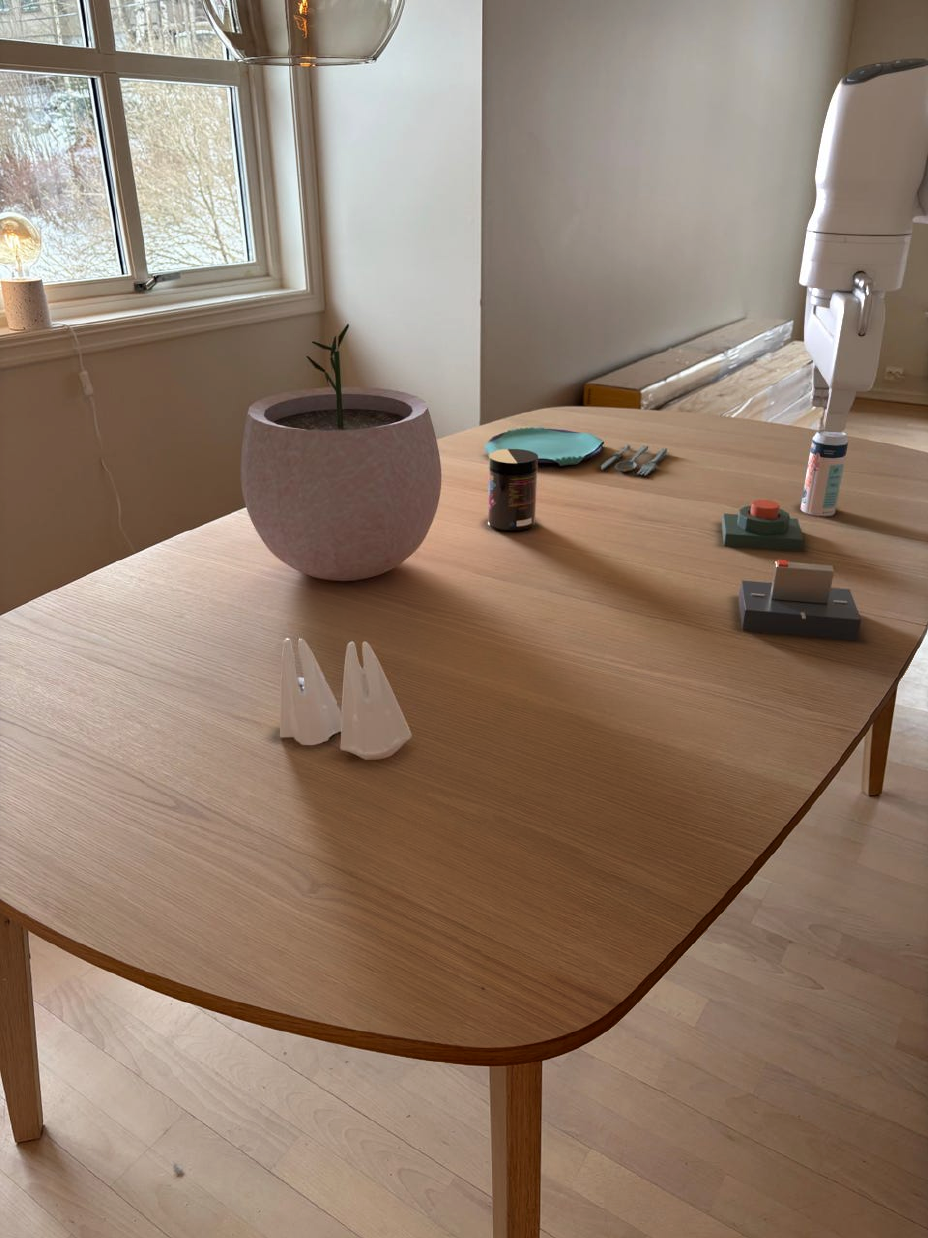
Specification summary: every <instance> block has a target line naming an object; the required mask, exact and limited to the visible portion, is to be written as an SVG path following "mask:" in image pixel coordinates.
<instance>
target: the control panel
mask: <svg viewBox="0 0 928 1238" xmlns="http://www.w3.org/2000/svg"><path fill="white" fill-rule="evenodd" d="M771 587H772V582H767V581H766V582H765V581H752V580H741V581H740V586H739V594H738V607H739V616H740V624H741V630H742V631H745V632H755V633H769V634H780V635H789V636H791V635H792V636H800V637H801V636H802V637H812V638H813V637H814V638H823V639H834V640H845V641H855V642H857V641H858V637H859V634H860V633H859V632H860V627H861V623H862V618H861V616H860V613H859V610H858V608H857V604H856V602H855V600H854V596H853V594H852V591H851V590H850V589H849V588H837V587H831V590H830V595H829V600H828V604H824V603H812V602H800V601H788V600H777V599H772V598H771Z"/></svg>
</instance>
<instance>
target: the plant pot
mask: <svg viewBox="0 0 928 1238" xmlns="http://www.w3.org/2000/svg"><path fill="white" fill-rule="evenodd" d="M349 328H350V325H349V323H347V324H346V325H345V327H344V328H343V329H342V331H341V332H340V334H339V335H338V337H337V335H335V336H334V338H333V341H332V344H331V346H327V345H325V344H322V343H320V342H317V341H314V340H313V341H311V343H312V344H313V345H315V346H317V347H319V348H321V349H323V350H326V351H330V355H329V356H330V357H329V360H330V364H331V369H332V370H333V372H334V382H333V380H332V378H331V376H330V375H329V374H328V372H326V369H324V367H322V366H321V365H319V364H318V363H317V362H316V361H315V360H313V359H312V358H311V357H310V356H309V355H305V356H306V358H307V360H308V361H309V362H310V364H312V366H313V367H314V369H316V370H318V371H320V372H322V373H324V376H325V379H326V383H327V386H325V387H324V386H323V387H315V388H313V387H312V388H303V389H297V390H291V391H284V392H280V393H276V394H273V395H269V396H266V397H264V398H261V399H259V400H256V401H255V402H254V403H252V404H251V405H250V406H249V407H248V410H247V415H246V420H245V426H244V431H243V436H242V437H243V438H242V447H241V457H240V458H241V459H240V485H241V491H242V492H241V493H242V496H243V501H244V505H245V508H246V512H247V514H248V516H249V519H250V521H251V523H252V525H253V527H254V529H255V531H256V532H257V534H258V536H259V537H260V539H261V541H262V542H263V544H264V545H265V547H266V548H267V549H268V551H270V553H271V554H273V556H274V557H276V558H277V559H278V560H279V561H281V562H282V563H284V564H285V565H287V566H288V567H290V568H291V569H293V570H295V571H297V572H299V573H301V574H304V575H307V576H310V577H313V578H316V579H319V580H324V581H325V580H326V581H336V582H350V581H351V582H352V581H353V582H354V581H359V580H365V579H369V578H373V577H376V576H380V575H383V574H384V573H387V572H388V571H391V570H392V569H395V568H397V567H398V566H399V565H401V564H402V563H403V562H405V561H407V559H408V558H410V557H411V556H412V555H413V554H414V553H416V551H417V550H418V549H419V548H420V547H421V545H422V544H423V542H424V541H425V539H426V537H427V535H428V533H429V531H430V528H431V526H432V524H433V522H434V519H435V517H436V514H437V510H438V507H439V502H440V497H441V491H442V466H441V465H442V464H441V457H440V451H439V445H438V440H437V436H436V432H435V428H434V424H433V421H432V417H431V414H430V409H429V407H428V405H427V402H426V401H425V400H424V399H422V398H421V397H419V396H418V395H414V394H410V393H408V392H404V391H399V390H394V389H388V388H381V387H380V388H378V387H369V386H368V387H367V386H342V377H341V375H342V374H341V361H340V360H341V359H340V358H341V357H340V350H339V348H340V345H341V344H342V342H343V340H344V338H345V335H346V334H347V331H348V329H349ZM329 383H330V385H329Z"/></svg>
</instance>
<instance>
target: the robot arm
mask: <svg viewBox="0 0 928 1238" xmlns="http://www.w3.org/2000/svg"><path fill="white" fill-rule="evenodd" d="M814 181H815V182H814V183H815V187H816V188H815V189H816V190H815V191H816V197H815V199H816V200H815V205H814V207H813V208H814V209H813V212H812V214H811V216H810V219H809V221H808V224H807V227H806V234H805V241H804V247H803V252H802V258H801V259H802V260H801V266H800V274H799V279H798V284H799V285H801V286H803V287H807V288H806V298H805V311H804V325H803V343H804V349H805V351H806V352H807V354H808V355H809V358H810V359H811V360H812V368H811V369H812V373H811V375H812V379H811V381H812V382H811V383H812V384H811V385H812V386H811V393H810V398H809V399H810V400H809V401H810V403H811V404H812V406H813V407H815V408H824V413H823V420H822V426H823V428H824V430H826V431H828V432H844V431H845V429H846V426H847V422H848V421H847V420H848V415H849V413H850V411H851V409H852V406H853V403H854V402H855V400H856V395H857V392H869V391H870V390H871V389H872V388H873V385H874V384H875V381H876V377H877V373H878V368H879V361H880V354H881V348H882V342H883V336H884V328H885V319H886V305H885V299H884V298H885V297H886V293H887V292H895V291H898V290H900V289H902V287H903V282H904V277H905V272H906V267H907V261H908V257H909V252H910V251H909V250H910V245H911V240H912V237H913V232H914V223H916V224H924V225H928V59H926V58H917V57H916V58H904V59H896V60H891V61H886V62H876V63H871V64H867V65H864V66H863V65H862V66H859V67H857V68H855V69H853V70H850V72H848V73H847V74H846V75H844V76H843V77H842V78H841V79H840V80H839V82H838V83H837V86H836V88H835V91H834V93H833V95H832V97H831V101H830V103H829V106H828V110H827V113H826V117H825V121H824V125H823V129H822V134H821V139H820V144H819V149H818V155H817V162H816V169H815V177H814Z"/></svg>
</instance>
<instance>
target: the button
mask: <svg viewBox="0 0 928 1238" xmlns="http://www.w3.org/2000/svg"><path fill="white" fill-rule="evenodd" d="M750 506H751V512H750V515H751V516H753V517H757V518H761V519H776V518H778V513H779V509H780V504H779V503H778V502H777V501H773V500H769V499H755V500H753V501H752V502H751V505H750Z"/></svg>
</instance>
